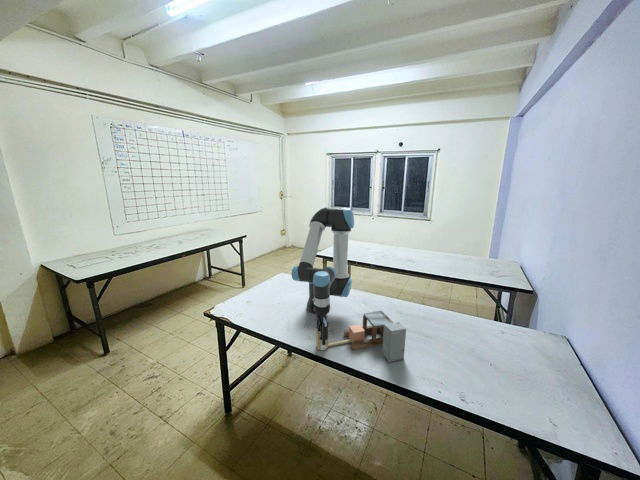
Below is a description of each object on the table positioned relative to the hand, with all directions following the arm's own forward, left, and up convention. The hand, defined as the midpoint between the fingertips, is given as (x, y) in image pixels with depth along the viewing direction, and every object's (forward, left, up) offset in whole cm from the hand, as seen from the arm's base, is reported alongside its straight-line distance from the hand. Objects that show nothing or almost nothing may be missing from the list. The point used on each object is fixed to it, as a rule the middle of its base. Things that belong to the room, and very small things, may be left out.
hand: (322, 346), depth 125 cm
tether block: (0, +9, 0) cm, 9 cm away
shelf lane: (0, +24, -1) cm, 24 cm away
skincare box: (+15, +30, -1) cm, 34 cm away
